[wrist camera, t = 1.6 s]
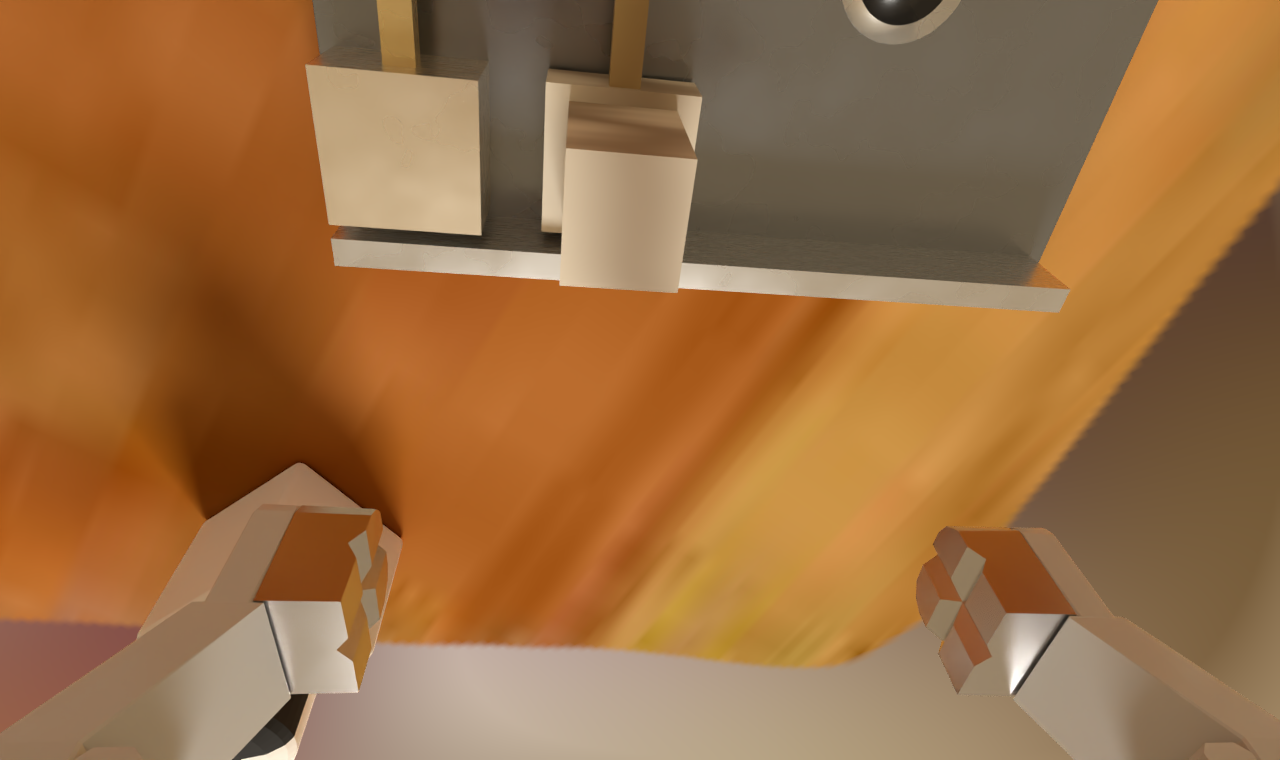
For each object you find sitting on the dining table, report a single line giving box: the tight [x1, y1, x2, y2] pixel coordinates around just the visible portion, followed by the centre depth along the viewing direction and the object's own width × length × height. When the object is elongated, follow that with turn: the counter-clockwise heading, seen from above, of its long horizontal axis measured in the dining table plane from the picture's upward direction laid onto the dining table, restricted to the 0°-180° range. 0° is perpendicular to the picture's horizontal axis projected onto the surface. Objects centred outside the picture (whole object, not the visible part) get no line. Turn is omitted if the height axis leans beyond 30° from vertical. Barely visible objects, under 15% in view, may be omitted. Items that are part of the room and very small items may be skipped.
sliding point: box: [541, 0, 702, 293], centre depth 22 cm, size 5×10×7 cm, turn 174°
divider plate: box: [305, 0, 1158, 313], centre depth 24 cm, size 28×14×4 cm, turn 84°
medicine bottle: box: [137, 463, 402, 760], centre depth 32 cm, size 7×7×12 cm
